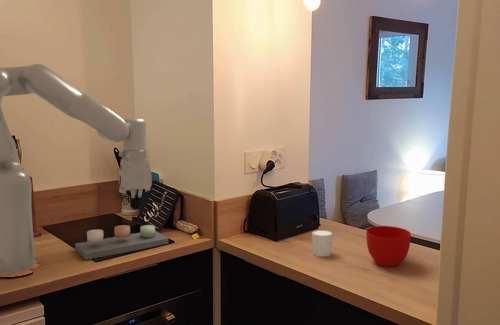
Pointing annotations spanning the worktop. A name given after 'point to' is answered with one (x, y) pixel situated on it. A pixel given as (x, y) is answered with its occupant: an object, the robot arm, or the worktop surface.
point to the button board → (119, 245)
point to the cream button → (95, 236)
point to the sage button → (147, 231)
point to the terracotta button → (122, 231)
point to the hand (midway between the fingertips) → (135, 208)
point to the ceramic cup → (388, 244)
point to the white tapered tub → (322, 242)
